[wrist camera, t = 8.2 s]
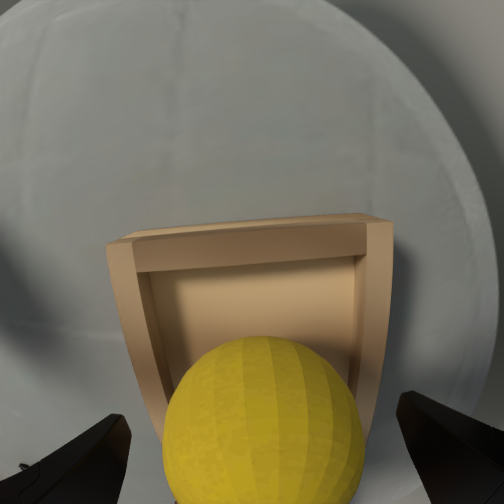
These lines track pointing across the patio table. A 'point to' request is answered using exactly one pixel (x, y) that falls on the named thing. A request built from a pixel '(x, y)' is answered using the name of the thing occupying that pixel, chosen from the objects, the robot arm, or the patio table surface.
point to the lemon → (262, 428)
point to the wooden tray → (256, 297)
